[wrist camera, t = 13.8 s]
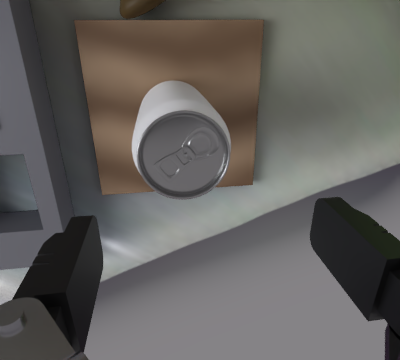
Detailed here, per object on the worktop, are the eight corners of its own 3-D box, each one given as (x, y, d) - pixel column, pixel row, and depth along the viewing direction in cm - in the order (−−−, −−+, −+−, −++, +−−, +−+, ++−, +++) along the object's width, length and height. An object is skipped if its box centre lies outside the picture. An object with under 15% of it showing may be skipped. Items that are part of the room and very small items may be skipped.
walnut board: (76, 20, 26) (74, 20, 25) (260, 20, 27) (263, 19, 26) (103, 190, 32) (102, 194, 31) (250, 181, 34) (252, 184, 33)
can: (220, 121, 30) (256, 166, 19) (168, 159, 31) (174, 223, 20) (180, 64, 27) (196, 78, 16) (124, 108, 28) (104, 149, 17)
